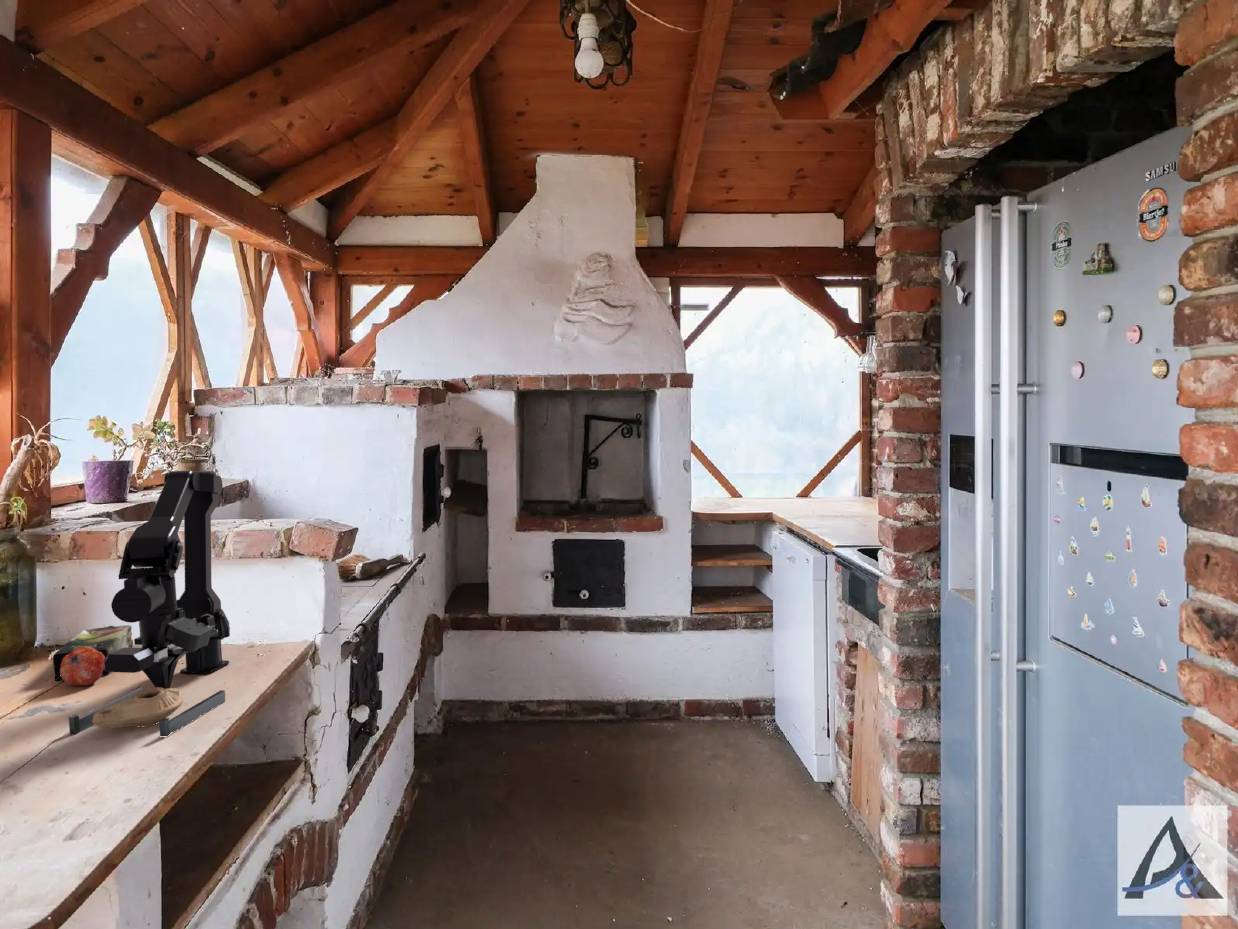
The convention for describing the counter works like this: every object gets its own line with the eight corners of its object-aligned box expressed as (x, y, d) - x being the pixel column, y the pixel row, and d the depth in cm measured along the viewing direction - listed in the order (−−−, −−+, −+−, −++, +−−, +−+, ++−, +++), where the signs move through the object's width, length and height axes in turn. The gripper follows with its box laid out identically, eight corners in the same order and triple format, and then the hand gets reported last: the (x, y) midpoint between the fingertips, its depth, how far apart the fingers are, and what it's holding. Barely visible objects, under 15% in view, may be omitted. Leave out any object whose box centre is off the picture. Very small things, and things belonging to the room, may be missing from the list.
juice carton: (82, 652, 166) (81, 625, 165) (135, 647, 169) (134, 620, 169) (51, 684, 147) (49, 653, 146) (111, 678, 150) (109, 647, 150)
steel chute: (139, 698, 137) (138, 683, 137) (225, 701, 135) (224, 686, 135) (69, 734, 123) (68, 717, 122) (165, 738, 120) (164, 720, 120)
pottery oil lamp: (84, 729, 123) (97, 684, 126) (166, 734, 131) (176, 691, 134) (95, 725, 118) (108, 678, 120) (181, 730, 125) (191, 685, 128)
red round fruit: (73, 690, 148) (37, 674, 140) (93, 654, 152) (59, 636, 144) (107, 696, 147) (73, 680, 139) (126, 659, 151) (94, 641, 143)
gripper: (162, 622, 120) (169, 718, 122) (235, 592, 139) (240, 675, 140) (97, 621, 122) (105, 716, 123) (178, 591, 140) (184, 674, 142)
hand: (164, 694), depth 132 cm, fingers closed
